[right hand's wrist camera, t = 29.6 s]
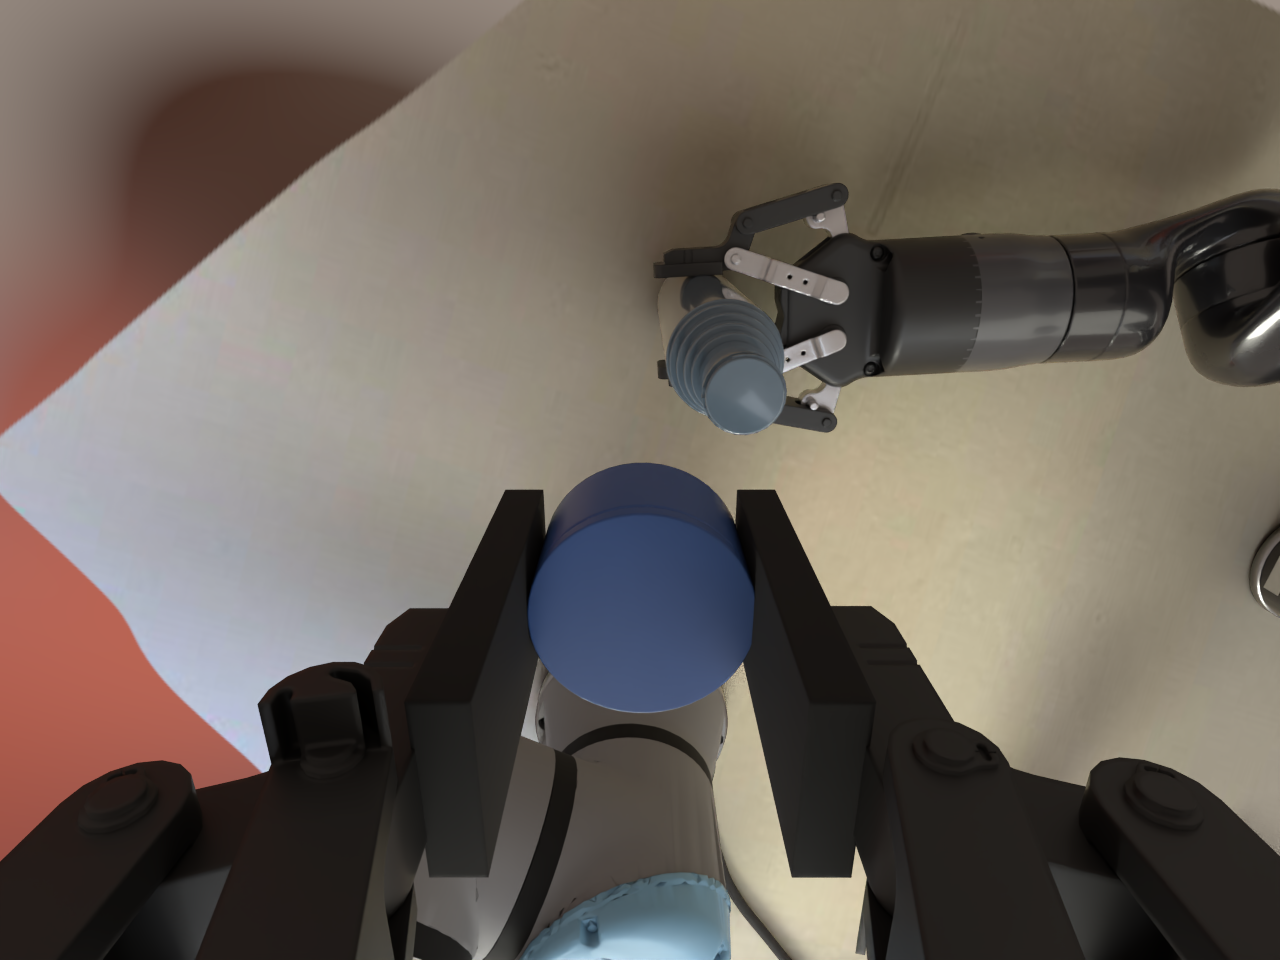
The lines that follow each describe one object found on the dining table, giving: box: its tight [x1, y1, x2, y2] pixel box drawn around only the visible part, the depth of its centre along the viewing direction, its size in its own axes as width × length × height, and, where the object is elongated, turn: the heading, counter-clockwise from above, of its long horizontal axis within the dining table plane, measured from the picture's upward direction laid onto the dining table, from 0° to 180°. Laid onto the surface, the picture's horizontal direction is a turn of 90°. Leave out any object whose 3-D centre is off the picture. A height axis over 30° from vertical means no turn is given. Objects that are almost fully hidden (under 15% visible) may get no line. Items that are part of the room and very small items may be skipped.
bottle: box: [657, 275, 787, 435], centre depth 35 cm, size 5×5×24 cm
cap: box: [527, 463, 755, 713], centre depth 13 cm, size 4×4×2 cm
